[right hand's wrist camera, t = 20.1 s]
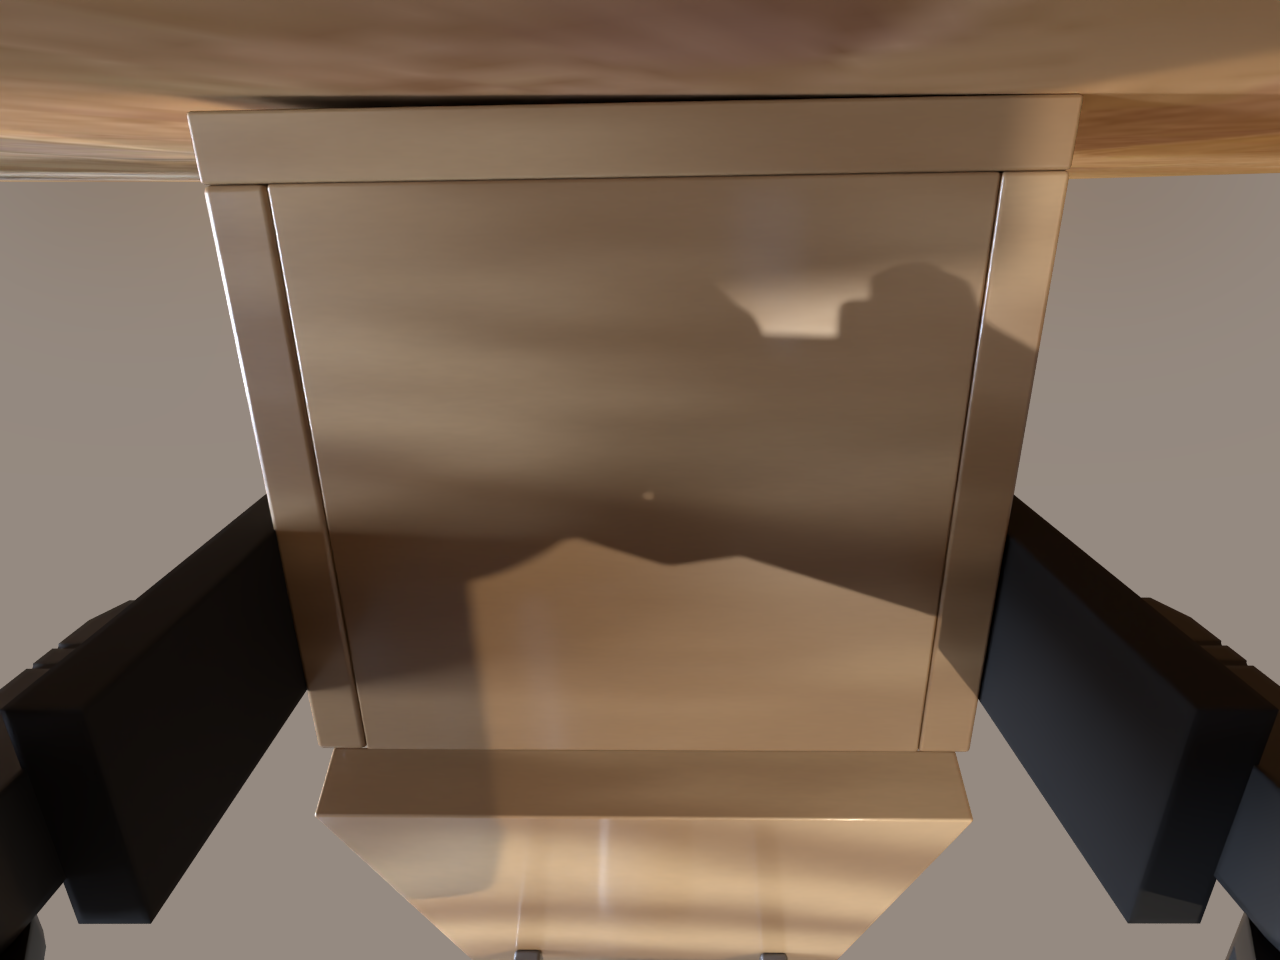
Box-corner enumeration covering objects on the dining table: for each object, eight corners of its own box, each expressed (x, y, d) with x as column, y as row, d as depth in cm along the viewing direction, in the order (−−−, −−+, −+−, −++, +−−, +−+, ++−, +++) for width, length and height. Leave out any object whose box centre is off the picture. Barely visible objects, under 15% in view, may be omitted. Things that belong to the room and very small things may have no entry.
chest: (831, 153, 21) (810, 464, 24) (463, 159, 21) (491, 466, 24) (1085, 93, 8) (970, 753, 12) (184, 110, 9) (317, 750, 12)
